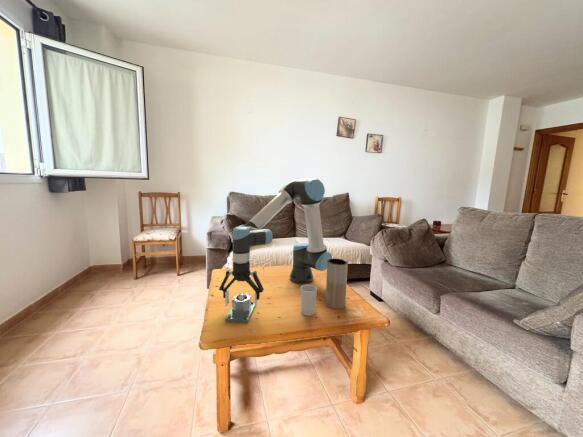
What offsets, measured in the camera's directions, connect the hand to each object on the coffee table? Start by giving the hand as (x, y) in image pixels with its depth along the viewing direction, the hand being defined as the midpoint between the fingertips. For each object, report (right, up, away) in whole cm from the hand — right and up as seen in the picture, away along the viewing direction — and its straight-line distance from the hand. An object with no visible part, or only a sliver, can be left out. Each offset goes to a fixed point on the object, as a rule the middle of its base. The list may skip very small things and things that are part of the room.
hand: (241, 305), depth 110 cm
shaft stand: (0, -4, 0) cm, 4 cm away
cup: (+31, -4, +3) cm, 31 cm away
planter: (+46, -4, +11) cm, 47 cm away
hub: (0, -2, 0) cm, 2 cm away
